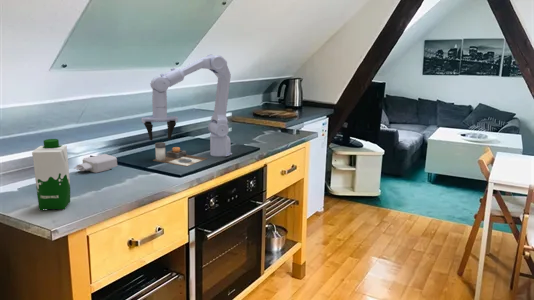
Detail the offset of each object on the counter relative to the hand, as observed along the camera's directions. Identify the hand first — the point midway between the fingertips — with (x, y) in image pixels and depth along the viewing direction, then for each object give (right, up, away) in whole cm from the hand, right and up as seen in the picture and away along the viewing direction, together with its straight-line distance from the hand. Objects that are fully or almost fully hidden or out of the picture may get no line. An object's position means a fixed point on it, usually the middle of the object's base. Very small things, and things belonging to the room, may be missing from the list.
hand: (160, 139), depth 183 cm
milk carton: (-20, -22, -49) cm, 57 cm away
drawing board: (+8, -9, +4) cm, 13 cm away
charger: (-23, -13, -12) cm, 29 cm away
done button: (+5, -6, +9) cm, 11 cm away
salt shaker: (0, -9, +2) cm, 9 cm away
